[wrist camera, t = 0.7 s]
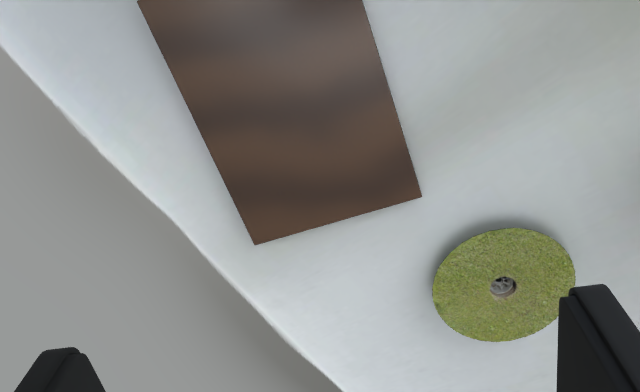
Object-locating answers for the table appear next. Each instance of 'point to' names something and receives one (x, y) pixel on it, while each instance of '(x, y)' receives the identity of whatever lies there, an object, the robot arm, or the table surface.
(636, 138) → the table surface
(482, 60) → the table surface
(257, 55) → the walnut board
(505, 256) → the green grinding disc
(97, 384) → the robot arm
